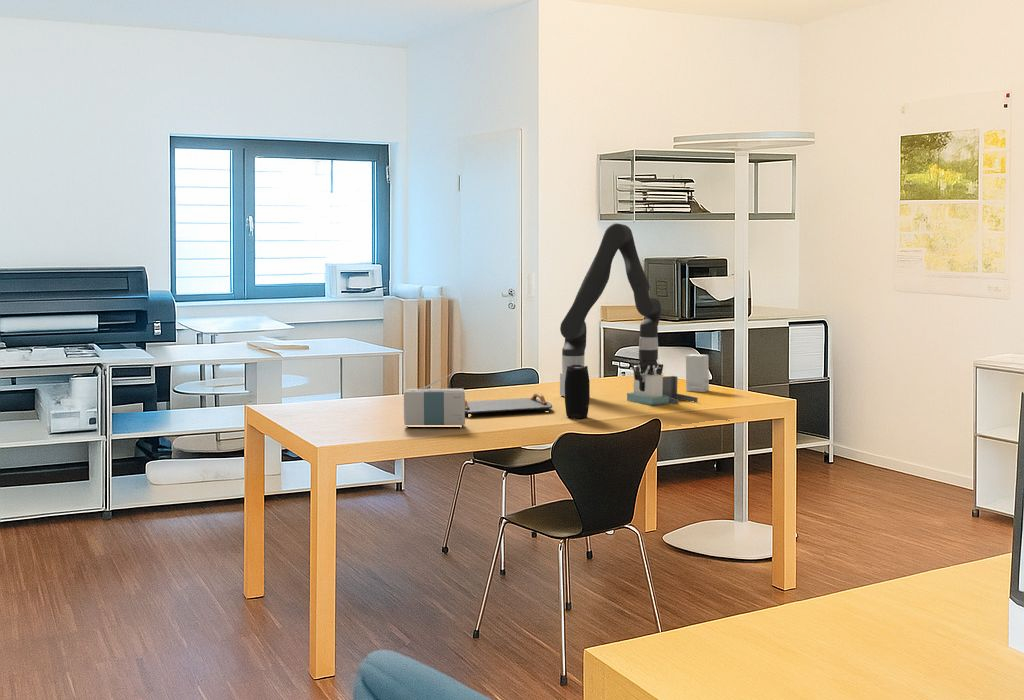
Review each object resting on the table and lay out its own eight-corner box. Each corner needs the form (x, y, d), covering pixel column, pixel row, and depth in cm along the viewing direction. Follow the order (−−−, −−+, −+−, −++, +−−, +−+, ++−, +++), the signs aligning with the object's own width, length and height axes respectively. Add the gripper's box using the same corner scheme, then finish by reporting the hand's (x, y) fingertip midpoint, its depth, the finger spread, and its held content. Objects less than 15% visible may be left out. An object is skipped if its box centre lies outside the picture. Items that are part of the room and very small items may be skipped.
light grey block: (652, 401, 406) (652, 373, 405) (633, 397, 416) (634, 369, 415) (662, 400, 409) (662, 372, 407) (643, 396, 419) (643, 369, 418)
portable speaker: (593, 417, 377) (594, 366, 375) (573, 420, 372) (573, 368, 370) (580, 414, 384) (580, 363, 382) (560, 416, 379) (560, 365, 377)
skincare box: (709, 390, 443) (709, 354, 441) (703, 392, 438) (704, 356, 436) (690, 389, 448) (691, 353, 446) (684, 391, 442) (685, 355, 440)
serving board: (461, 420, 376) (461, 403, 375) (443, 410, 397) (443, 394, 396) (559, 413, 389) (559, 397, 388) (537, 404, 410) (537, 389, 410)
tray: (651, 405, 404) (651, 398, 403) (627, 400, 417) (627, 393, 417) (669, 403, 408) (669, 396, 408) (644, 398, 422) (644, 391, 421)
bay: (676, 404, 406) (677, 382, 405) (652, 399, 419) (653, 377, 418) (697, 402, 411) (697, 380, 411) (673, 397, 424) (673, 375, 423)
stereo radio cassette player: (403, 429, 355) (403, 372, 353) (406, 425, 364) (405, 368, 361) (464, 429, 355) (464, 371, 353) (465, 425, 364) (465, 368, 361)
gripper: (656, 346, 417) (656, 387, 419) (628, 348, 410) (627, 390, 412) (668, 348, 411) (667, 390, 413) (640, 350, 403) (639, 393, 405)
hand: (647, 390), depth 412 cm, fingers closed on light grey block, 5 cm apart
